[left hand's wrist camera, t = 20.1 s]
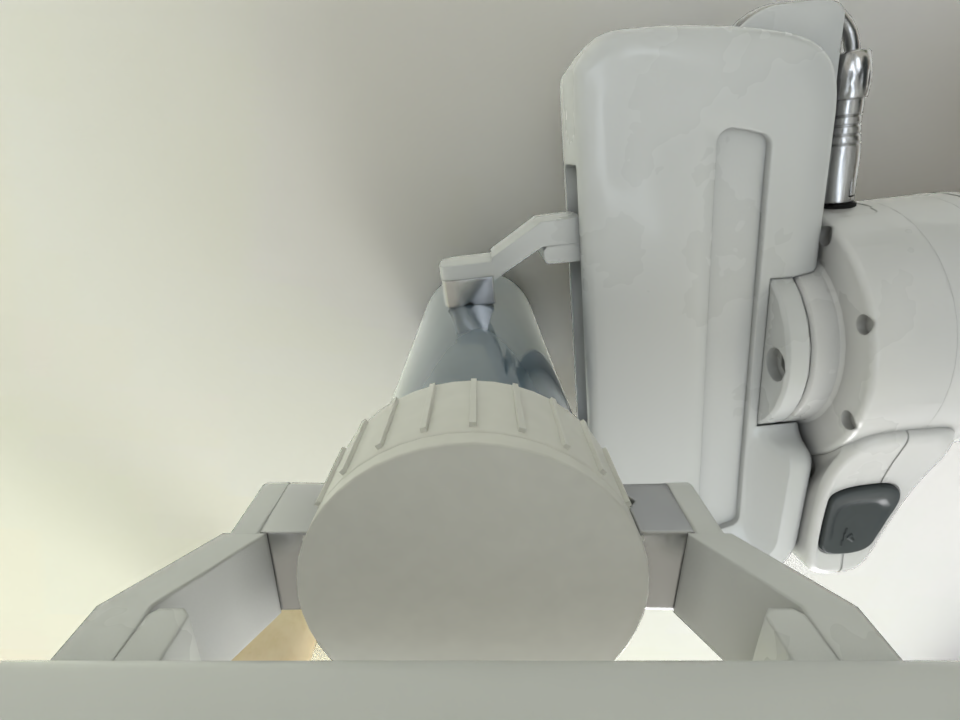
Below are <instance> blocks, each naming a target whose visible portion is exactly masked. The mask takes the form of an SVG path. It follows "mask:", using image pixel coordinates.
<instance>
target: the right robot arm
mask: <svg viewBox="0 0 960 720" xmlns="http://www.w3.org/2000/svg"><path fill="white" fill-rule="evenodd" d="M842 41H843V48H844V52H843V53H840V50H841V42H842ZM860 47H861V46H860V37H859V32H858V29H857V26H856V24H855V22H854V20H853V18H852V16H851V15H850V14H849V13H848V12H847V11H846V10H845V9H844V7H843V6H842V4H840V3H839V2H836V1H832V0H795V1H788V2H780V3H773V4H767V5H764V6H761V7H758V8H756V9H754V10H752V11H750V12H748V13H747V14H745V15H744V16H743V17H741V18H740V19H739V20H738V21H737V22H736V23H735V24H734V25H733V26H710V25H675V26H652V27H638V28H628V29H619V30H613V31H609V32H606V33H604V34H602V35H600V36H598V37H596V38H594V39H593V40H592V41H590V42H589V43H588V44H587V45H586V46H585V47H584V48H583V49H582V50H581V51H580V52H579V54H578V55H577V56H576V57H575V59H574V60H573V61H572V63H571V64H570V66H569V67H568V69H567V70H566V71H565V73H564V74H563V76H562V79H561V82H560V103H561V122H562V141H563V160H564V179H565V198H566V211H565V212H557V213H549V214H541V215H534V216H533V217H532V218H530V219H529V220H528V221H526V222H525V223H524V224H522V225H521V226H520V227H518V228H517V229H516V230H514V231H513V232H512V233H510V234H509V235H508V236H507V237H505V238H504V239H503V240H501V241H500V242H499V243H497V244H496V245H495V246H493V247H492V248H491V252H488V253H479V254H471V255H463V256H454V257H449V258H446V259H443V260H441V262H440V264H439V269H440V277H441V283H442V289H443V295H444V301H445V306H446V307H447V308H458V307H462V306H465V305H467V304H468V303H469V302H470V303H472V304H474V305H487V304H495V292H494V281H493V277H494V280H496V279H498V278H499V277H500V276H502V275H503V274H505V273H506V272H507V271H509V270H510V269H512V268H513V267H515V266H516V265H517V264H519V263H520V262H522V261H523V260H524V259H526V258H527V257H529V256H530V255H532V254H533V253H534V252H536V251H537V250H538V251H539V253H540V254H541V256H542V258H543V259H544V261H545V262H546V263H547V264H555V263H565V262H569V274H570V293H571V311H572V330H573V349H574V368H575V387H576V406H577V418H578V419H579V420H580V421H581V420H582V419H584V420H585V421H586V423H587V425H588V428H589V430H590V432H591V433H592V434H593V435H594V437H595V438H596V440H597V441H598V443H599V444H600V446H601V447H602V448H604V447H606V448H607V450H608V452H609V454H610V457H611V459H612V461H613V463H614V466H615V468H616V470H617V472H618V475H619V477H620V479H621V481H622V484H659V483H675V482H688V483H690V484H691V485H692V486H693V488H694V489H695V491H696V492H697V494H698V495H699V497H700V498H701V500H702V501H703V503H704V504H705V506H706V507H707V509H708V510H709V512H710V513H711V515H712V516H713V518H714V519H715V521H716V522H717V524H718V525H719V527H720V528H721V530H722V531H723V533H732V534H733V535H735V536H737V537H739V538H740V539H742V540H744V541H745V542H747V543H749V544H751V545H752V546H754V547H756V548H757V549H759V550H761V551H763V552H764V553H766V554H768V555H769V556H771V557H773V558H775V559H776V560H778V561H780V562H781V563H784V562H785V561H786V560H787V558H788V557H789V556H790V554H791V553H792V552H793V553H794V555H795V556H796V557H797V558H798V559H799V560H800V561H801V562H802V563H803V564H804V565H805V566H806V567H807V568H808V569H809V570H811V571H813V572H816V573H838V572H845V571H849V570H852V569H854V568H856V567H858V566H859V565H860V564H862V563H863V562H864V561H865V559H866V558H867V557H868V555H869V554H870V552H871V551H872V549H873V548H874V546H875V544H876V543H877V541H878V539H879V538H880V536H881V535H882V533H883V531H884V530H885V528H886V527H887V525H888V524H889V522H890V521H891V519H892V518H893V516H894V515H895V513H896V512H897V510H898V509H899V507H900V506H901V505H902V503H903V502H904V501H905V499H906V498H907V497H908V495H909V494H910V493H911V491H912V490H913V489H914V488H915V487H916V486H917V484H918V483H919V482H920V481H921V480H922V478H923V477H924V476H925V475H926V474H927V473H928V472H929V471H930V470H931V469H932V468H933V467H934V466H935V465H936V464H937V463H938V462H939V461H940V460H941V459H942V458H943V457H944V455H945V454H946V453H947V452H948V450H949V448H950V447H951V445H952V444H953V442H959V441H960V192H933V193H922V194H913V195H905V196H896V197H888V198H879V199H871V200H863V201H855V202H854V197H855V191H856V184H857V177H858V170H859V163H860V156H861V143H860V141H861V134H860V132H861V128H862V125H860V123H861V122H862V116H863V115H861V113H863V109H864V103H865V97H868V94H869V91H870V87H871V82H872V73H873V58H872V50H871V49H860Z"/></svg>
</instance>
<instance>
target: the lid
mask: <svg viewBox="0 0 960 720" xmlns="http://www.w3.org/2000/svg"><path fill="white" fill-rule="evenodd" d="M314 505H315V506H317V507H318V509H317V511H316V513H315V516H314V518H313V520H312V522H311V524H310V526H309V528H308V531H307V533H306V535H303V539H302V541H303V542H302V546H301V550H300V554H299V557H298V566H297V589H298V598H299V602H300V606H301V609H302V613H303V616H304V618H305V620H306V623H307V625H308V627H309V630H310V631H311V633H312V635H313V636H314V638H315V639H316V641H317V643H318V644H319V646H320V647H321V648H322V649H323V651H324V652H325V653H326V654H327V655H328V657H329V658H330V659H331V660H332V661H615V660H616V659H617V658H618V656H619V655H620V654H621V653H622V652H623V650H624V649H625V648H626V647H627V645H628V644H629V642H630V641H631V639H632V637H633V636H634V634H635V632H636V631H637V629H638V626H639V624H640V621H641V619H642V617H643V614H644V611H645V606H646V602H647V598H648V590H649V568H648V559H647V555H646V551H645V548H644V544H643V541H644V537H643V535H641V536H640V534H639V531H638V529H637V527H636V524H635V522H634V520H633V517H632V515H631V513H630V508H631V507H630V506H631V505H632V504H631V502H630V499H629V497H628V495H627V493H626V490H625V488H624V486H623V484H622V481H621V479H620V477H619V475H618V472H617V470H616V468H615V466H614V463H613V461H612V459H611V457H610V454H609V452H608V450H607V448H606V447H604V448H602V447H601V446H600V444H599V443H598V441H597V440H596V438H595V437H594V435H593V434H592V433H591V432H590V430H589V428H588V425H587V423H586V421H585V420H584V419H582V420H581V421H580V420H579V419H578V418H576V417H575V416H574V415H573V414H572V413H570V412H569V411H568V410H567V409H565V408H564V407H562V406H560V405H559V404H557V402H556V399H554V398H553V397H551V398H550V399H549V398H547V397H544V396H542V395H540V394H538V393H536V392H533V391H530V390H527V389H524V388H521V387H519V386H518V384H516V383H513V384H512V385H509V384H504V383H499V382H491V381H477V379H476V378H471V381H456V382H449V383H444V384H438V385H435V383H432V384H430V385H429V387H427V388H424V389H420V390H417V391H414V392H412V393H410V394H408V395H406V396H403V397H401V398H399V399H398V398H397V397H395V398H393V399H392V401H391V403H390V404H389V405H387V406H386V407H384V408H383V409H381V410H380V411H379V412H378V413H376V414H375V415H374V416H373V417H372V418H370V419H369V420H368V421H367V420H366V419H364V420H363V421H362V423H361V425H360V427H359V429H358V431H357V433H356V434H355V436H354V437H353V439H352V440H351V442H350V443H349V445H348V446H347V448H344V447H342V449H341V451H340V453H339V455H338V457H337V459H336V461H335V463H334V465H333V467H332V469H331V471H330V473H329V475H328V477H327V479H326V481H325V483H324V486H323V488H322V490H321V492H320V494H319V496H318V498H317V500H316V502H315V504H314Z"/></svg>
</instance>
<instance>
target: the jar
mask: <svg viewBox="0 0 960 720" xmlns="http://www.w3.org/2000/svg"><path fill="white" fill-rule="evenodd" d="M493 281H494V292H495V304H487V305H474V304H472V303H470V302H469V303H468V304H467V305H465V306H462V307H458V308H447V307H446V306H445V301H444V295H443V289H442V285H441V286H439V287H438V289H437V290H436V291H435V292H434V294H433V295H432V297H431V298H430V300H429V302H428V304H427V307H426V310H425V312H424V315H423V318H422V320H421V323H420V326H419V329H418V331H417V334H416V337H415V339H414V342H413V345H412V347H411V350H410V353H409V355H408V358H407V361H406V363H405V366H404V369H403V371H402V374H401V377H400V379H399V382H398V385H397V387H396V390H395V393H394V396H393V398H395V397H397V398H398V399H399V398H401V397H403V396H406V395H408V394H410V393H412V392H414V391H417V390H420V389H424V388H427V387H429V385H430V384H432V383H435V385H438V384H444V383H449V382H456V381H471V378H476V379H477V381H491V382H499V383H504V384H509V385H512V384H513V383H516V384H518V386H519V387H521V388H524V389H527V390H530V391H533V392H536V393H538V394H540V395H542V396H544V397H547V398H549V399H550V398H551V397H553V398H554V399H556V402H557V404H559V405H560V406H562V407H564V408H565V409H567V410H568V411H569V412H570V413H572V412H571V409H570V406H569V404H568V401H567V399H566V396H565V393H564V391H563V388H562V386H561V383H560V380H559V378H558V375H557V373H556V370H555V368H554V365H553V362H552V360H551V357H550V355H549V352H548V349H547V347H546V344H545V342H544V339H543V336H542V334H541V331H540V329H539V326H538V324H537V321H536V318H535V316H534V313H533V311H532V308H531V305H530V303H529V301H528V299H527V297H526V296H525V294H524V293H523V291H522V290H521V289H520V288H519V287H518V286H517V285H516V284H515V283H514V282H512V281H511V280H509V279H508V278H506V277H504V276H500V277H499V278H498V279H496V280H494V277H493ZM393 398H392V399H393Z"/></svg>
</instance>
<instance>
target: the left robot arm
mask: <svg viewBox="0 0 960 720" xmlns="http://www.w3.org/2000/svg"><path fill="white" fill-rule="evenodd" d="M323 486H324V483H289V482H269V483H266V484H264V485H263V486H262V487H261V489H260V490H259V492H258V493H257V495H256V496H255V498H254V499H253V501H252V502H251V504H250V505H249V507H248V508H247V510H246V511H245V513H244V514H243V516H242V517H241V519H240V520H239V522H238V523H237V525H236V526H235V528H234V529H233V531H232V532H231V533H223V534H221V535H220V536H218V537H216V538H214V539H213V540H211V541H209V542H207V543H206V544H204V545H202V546H200V547H199V548H197V549H195V550H193V551H192V552H190V553H188V554H187V555H185V556H183V557H181V558H180V559H178V560H176V561H174V562H173V563H171V564H169V565H167V566H166V567H164V568H162V569H160V570H159V571H157V572H155V573H154V574H152V575H150V576H148V577H147V578H145V579H143V580H141V581H140V582H138V583H136V584H134V585H133V586H131V587H129V588H127V589H126V590H124V591H122V592H121V593H119V594H117V595H115V596H114V597H112V598H110V599H108V600H107V601H105V602H103V603H101V604H100V605H98V606H96V608H95V609H94V610H93V611H92V612H91V613H90V615H89V616H88V617H87V618H86V619H85V620H84V622H83V623H82V624H81V625H80V626H79V627H78V629H77V630H76V631H75V632H74V633H73V634H72V635H71V637H70V638H69V639H68V640H67V641H66V642H65V644H64V645H63V646H62V647H61V648H60V649H59V651H58V652H57V653H56V654H55V655H54V656H53V658H52V659H51V660H0V720H960V661H903V660H902V659H901V658H900V657H899V655H898V654H897V653H896V652H895V651H894V650H893V648H892V647H891V646H890V645H889V644H888V642H887V641H886V640H885V639H884V638H883V636H882V635H881V634H880V633H879V632H878V631H877V629H876V628H875V627H874V626H873V625H872V623H871V622H870V621H869V620H868V619H867V617H866V616H865V615H864V614H863V613H862V612H861V610H860V609H859V608H858V607H857V606H855V605H853V604H852V603H850V602H848V601H847V600H845V599H843V598H841V597H840V596H838V595H836V594H835V593H833V592H831V591H829V590H828V589H826V588H824V587H823V586H821V585H819V584H817V583H816V582H814V581H812V580H811V579H809V578H807V577H805V576H804V575H802V574H800V573H799V572H797V571H795V570H793V569H792V568H790V567H788V566H787V565H785V564H783V563H781V562H780V561H778V560H776V559H775V558H773V557H771V556H769V555H768V554H766V553H764V552H763V551H761V550H759V549H757V548H756V547H754V546H752V545H751V544H749V543H747V542H745V541H744V540H742V539H740V538H739V537H737V536H735V535H733V534H732V533H723V531H722V530H721V528H720V527H719V525H718V524H717V522H716V521H715V519H714V518H713V516H712V515H711V513H710V512H709V510H708V509H707V507H706V506H705V504H704V503H703V501H702V500H701V498H700V497H699V495H698V494H697V492H696V491H695V489H694V488H693V486H692V485H691V484H690V483H688V482H675V483H659V484H623V486H624V488H625V490H626V493H627V495H628V497H629V499H630V502H631V504H632V505H631V506H630V507H631V508H630V513H631V515H632V517H633V520H634V522H635V524H636V527H637V529H638V531H639V534H640V536H641V535H643V537H644V541H643V544H644V548H645V551H646V555H647V559H648V568H649V590H648V598H647V602H646V606H645V609H654V610H674V613H675V614H676V615H677V616H678V617H679V618H680V619H681V620H682V621H683V622H684V623H685V624H686V625H687V626H688V627H689V628H690V629H691V630H692V631H693V632H695V633H696V634H697V635H698V636H699V637H700V638H701V639H702V640H703V641H704V642H705V643H706V644H707V645H708V646H709V647H710V648H711V649H712V650H713V651H714V652H715V653H716V654H717V655H718V656H719V657H720V658H721V659H722V660H723V661H231V660H232V659H233V658H234V657H235V656H236V655H238V654H239V653H240V652H241V651H242V650H243V649H244V648H245V647H246V646H247V645H248V644H249V643H250V642H251V641H252V640H253V639H254V638H255V637H256V636H257V635H258V634H259V633H261V632H262V631H263V630H264V629H265V628H266V627H267V626H268V625H269V624H270V623H271V622H272V621H273V620H274V619H275V618H276V617H277V616H278V615H279V614H280V613H281V610H300V609H301V606H300V602H299V598H298V589H297V566H298V557H299V554H300V550H301V546H302V542H303V541H302V539H303V535H306V533H307V531H308V528H309V526H310V524H311V522H312V520H313V518H314V516H315V513H316V511H317V509H318V507H317V506H315V505H314V504H315V502H316V500H317V498H318V496H319V494H320V492H321V490H322V488H323Z"/></svg>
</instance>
